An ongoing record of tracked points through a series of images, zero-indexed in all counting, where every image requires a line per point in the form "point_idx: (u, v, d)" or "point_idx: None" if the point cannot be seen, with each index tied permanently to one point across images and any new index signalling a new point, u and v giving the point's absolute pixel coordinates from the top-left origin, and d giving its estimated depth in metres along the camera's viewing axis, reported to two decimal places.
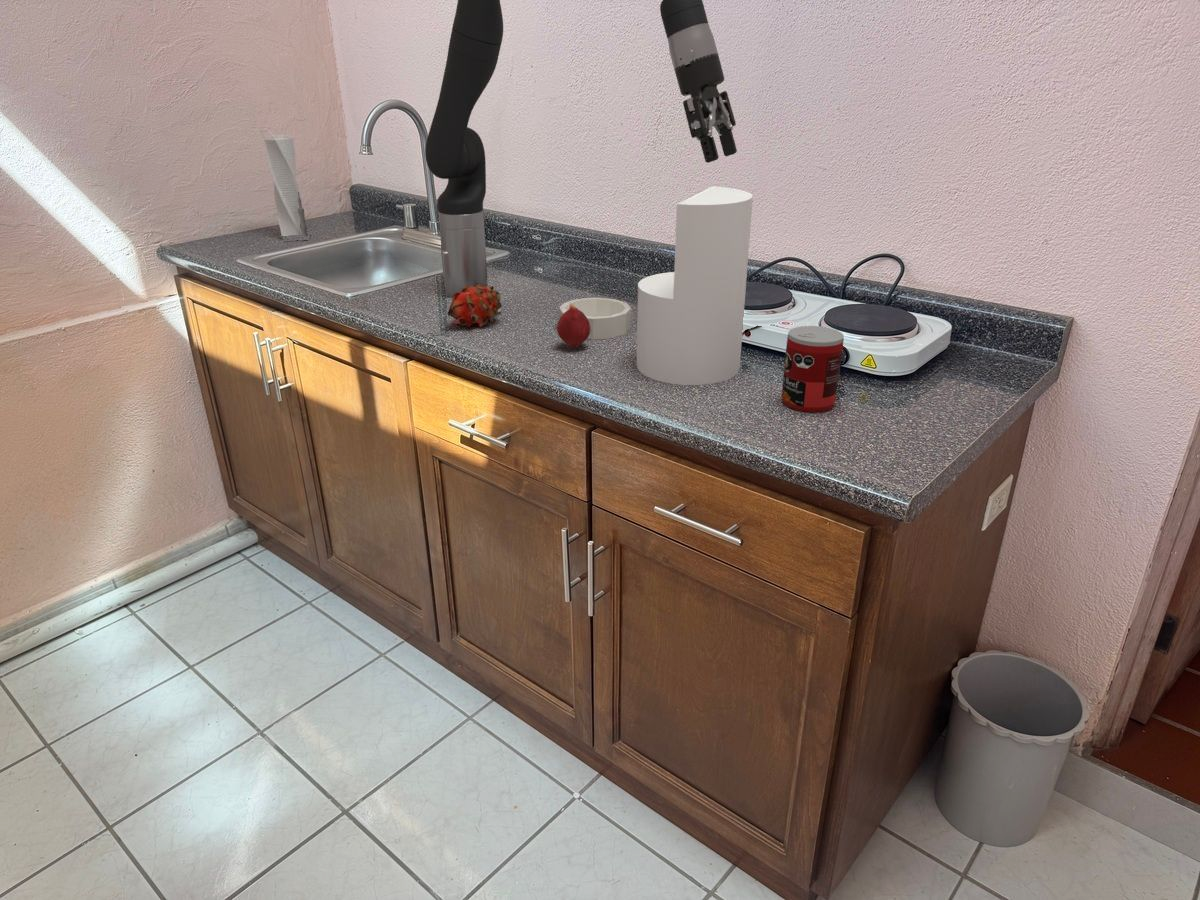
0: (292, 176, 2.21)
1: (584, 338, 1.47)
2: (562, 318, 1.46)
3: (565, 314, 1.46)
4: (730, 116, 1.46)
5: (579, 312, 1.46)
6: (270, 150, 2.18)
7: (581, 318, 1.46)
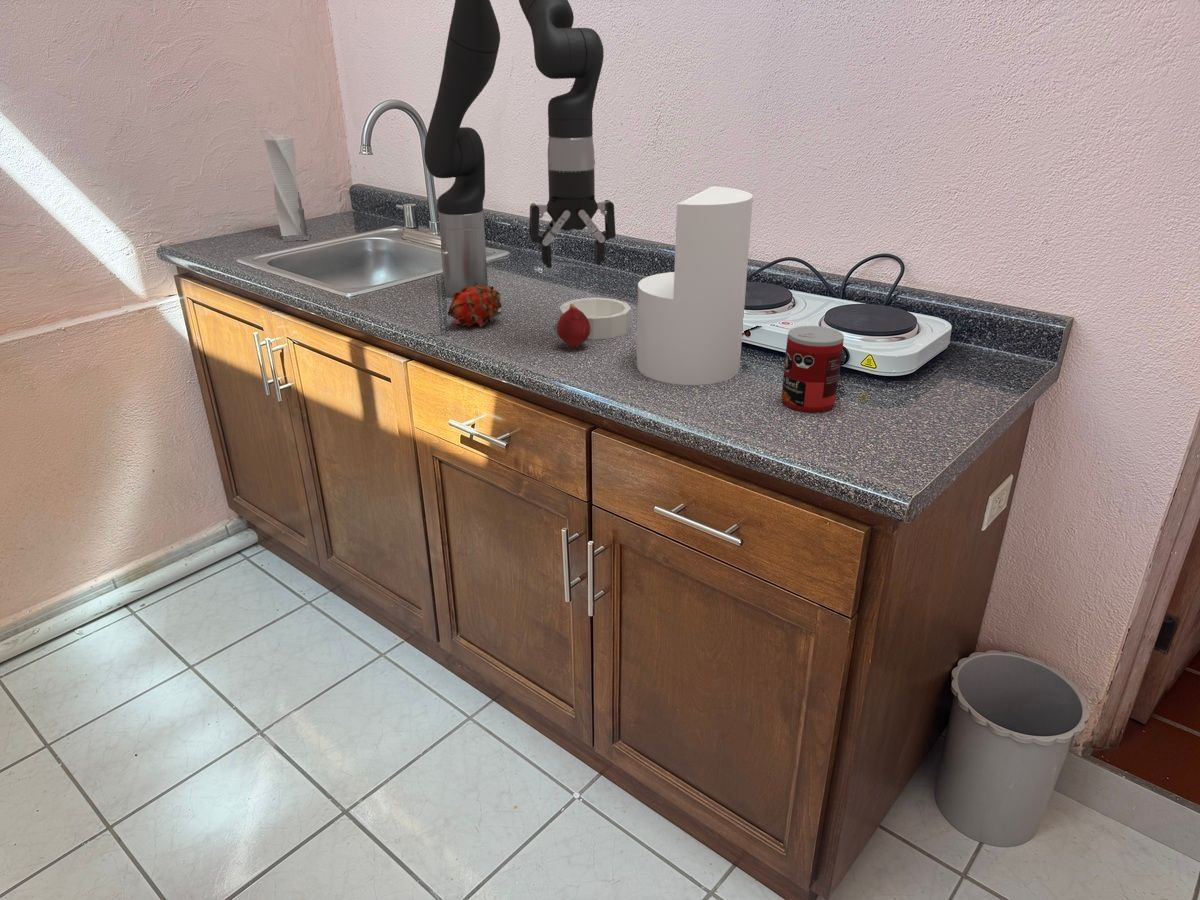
0: (292, 176, 2.21)
1: (584, 338, 1.47)
2: (562, 318, 1.46)
3: (565, 314, 1.46)
4: (608, 228, 1.41)
5: (579, 312, 1.46)
6: (270, 150, 2.18)
7: (581, 318, 1.46)
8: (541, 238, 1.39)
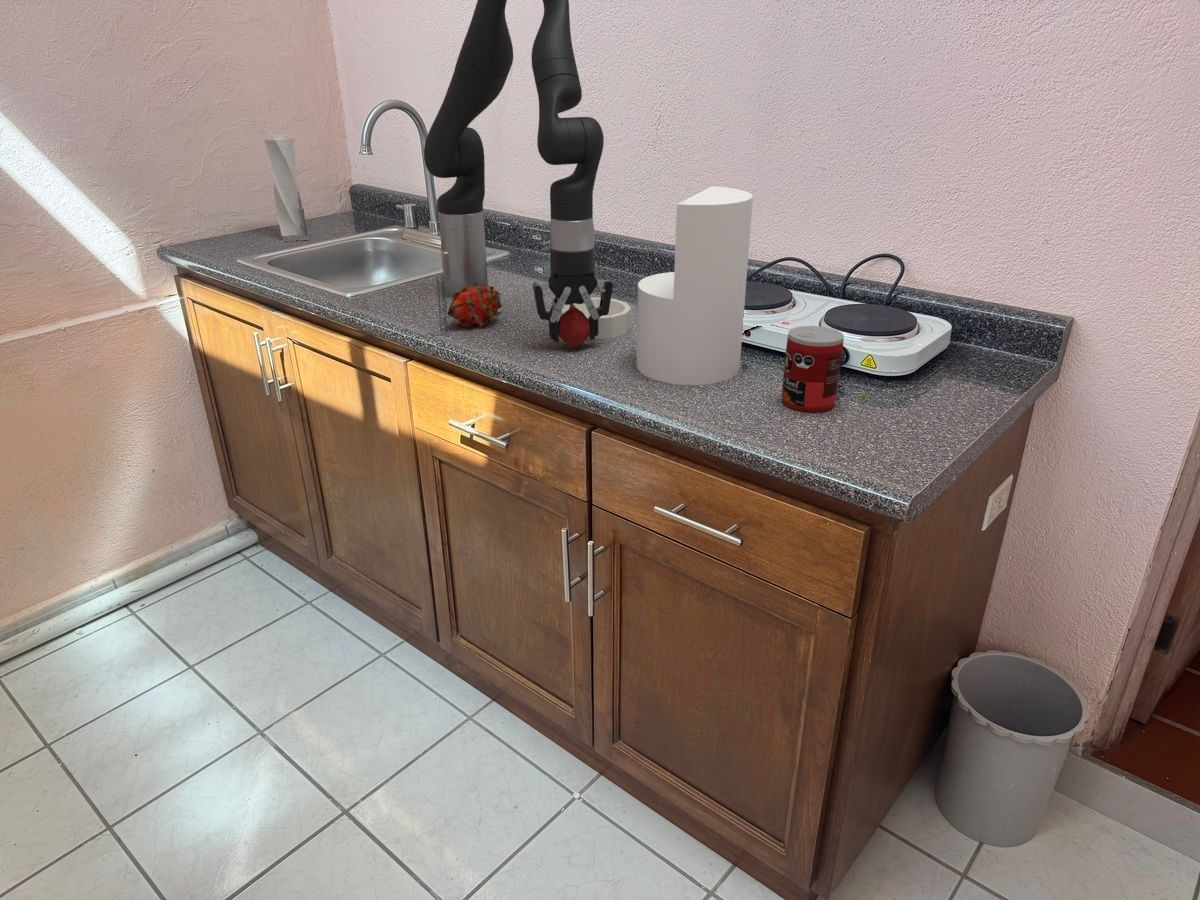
0: (292, 176, 2.21)
1: (584, 338, 1.47)
2: (562, 318, 1.46)
3: (565, 314, 1.46)
4: (603, 305, 1.46)
5: (579, 312, 1.46)
6: (270, 150, 2.18)
7: (581, 318, 1.46)
8: (549, 315, 1.45)
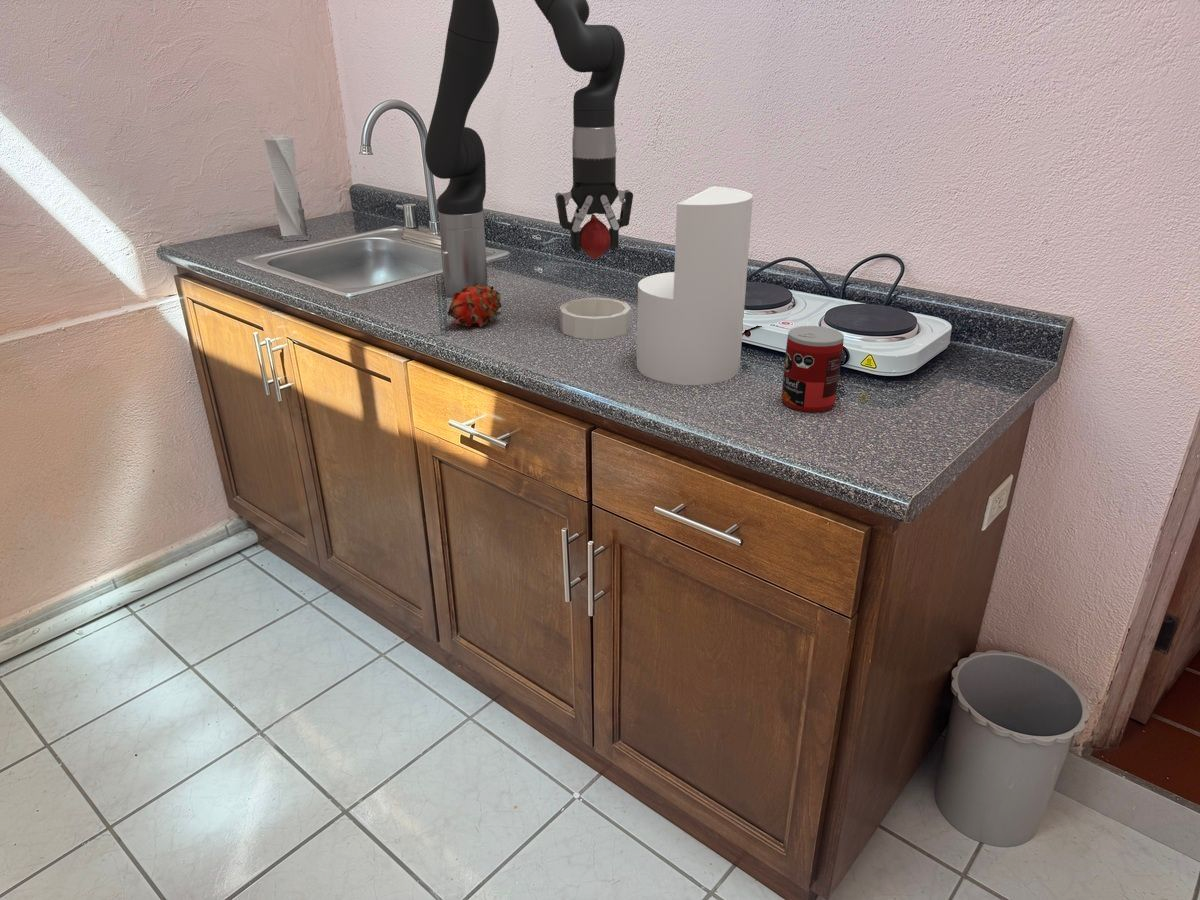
0: (292, 176, 2.21)
1: (605, 248, 1.51)
2: (584, 228, 1.50)
3: (586, 224, 1.50)
4: (623, 215, 1.50)
5: (600, 222, 1.50)
6: (270, 150, 2.18)
7: (602, 228, 1.50)
8: (571, 225, 1.50)
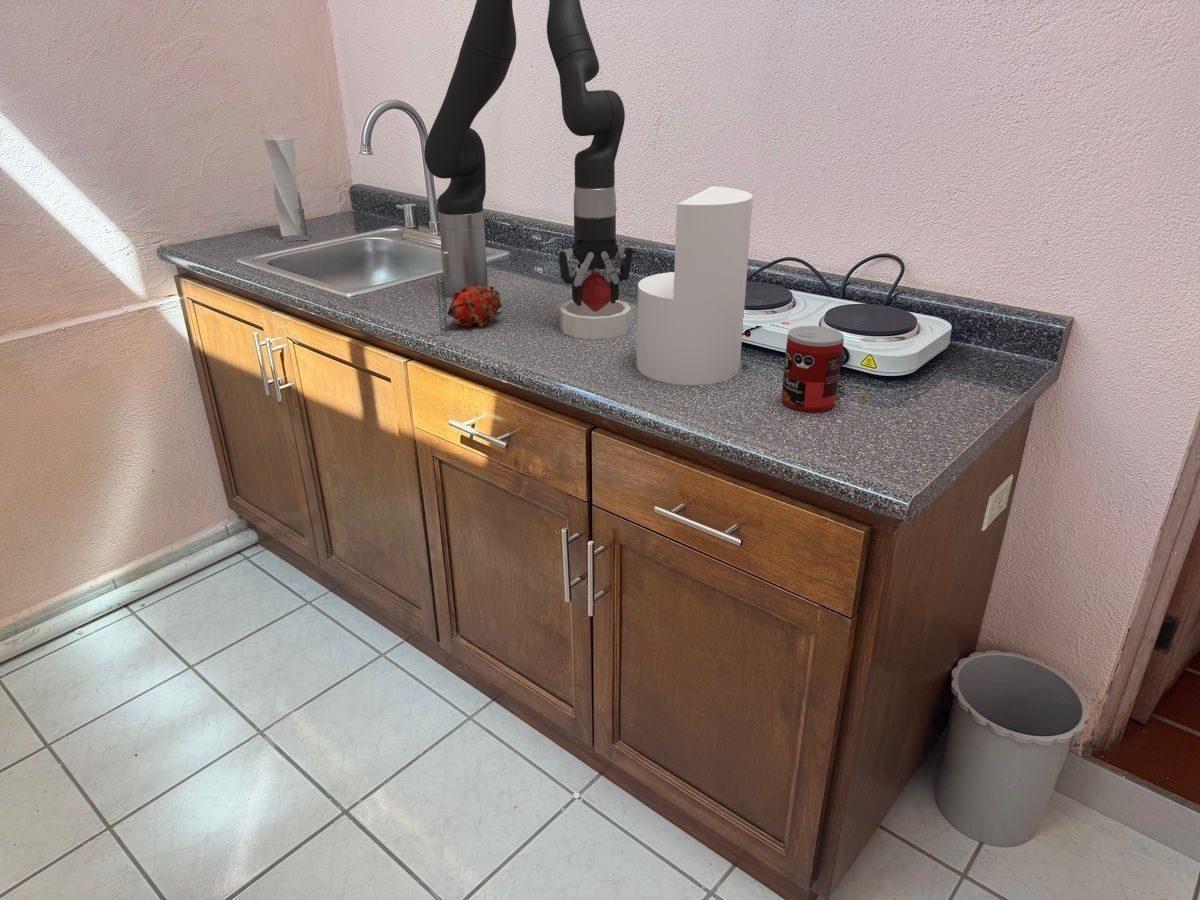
0: (292, 176, 2.21)
1: (605, 302, 1.56)
2: (585, 283, 1.55)
3: (588, 279, 1.55)
4: (623, 270, 1.55)
5: (601, 277, 1.55)
6: (270, 150, 2.18)
7: (603, 282, 1.54)
8: (572, 279, 1.54)
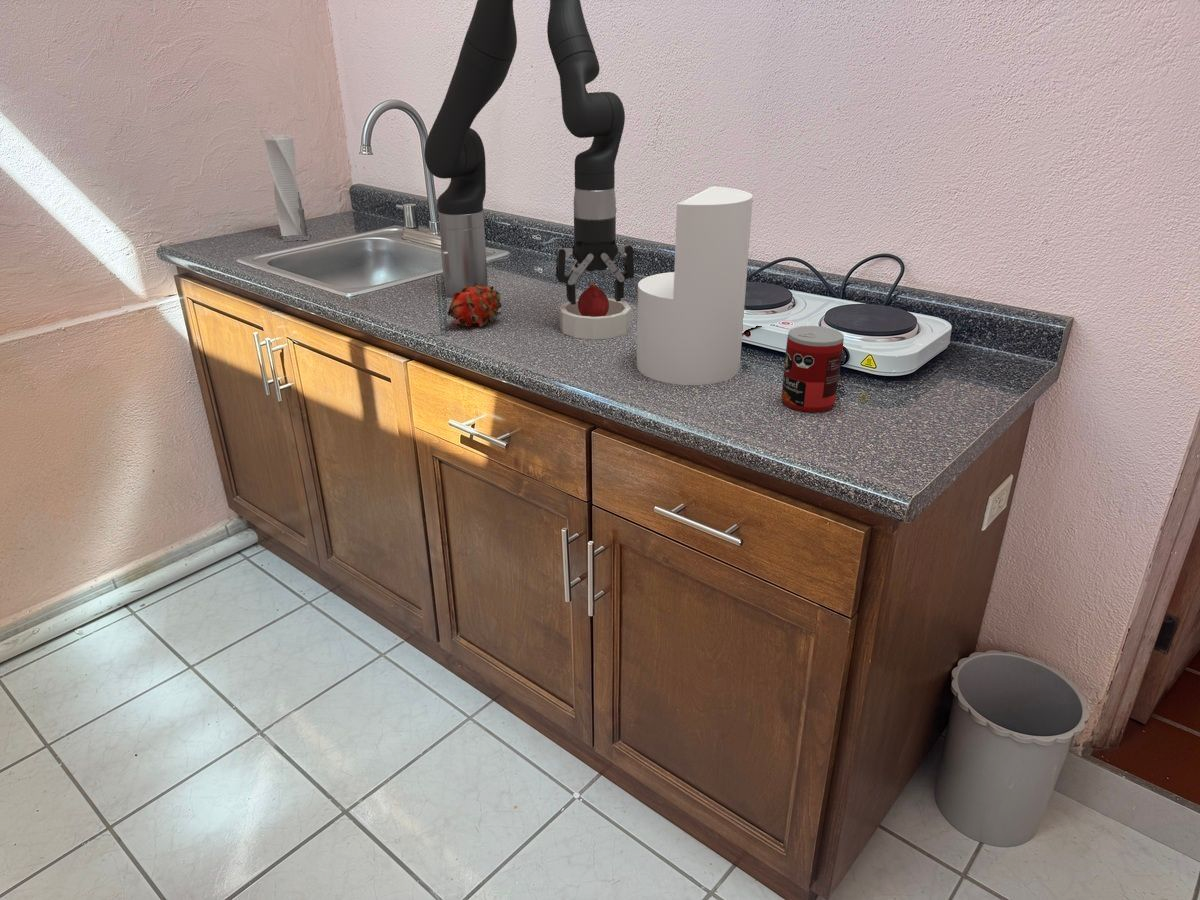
0: (292, 176, 2.21)
1: (603, 314, 1.57)
2: (583, 295, 1.56)
3: (586, 291, 1.56)
4: (627, 269, 1.55)
5: (599, 290, 1.56)
6: (270, 150, 2.18)
7: (601, 295, 1.55)
8: (567, 278, 1.54)
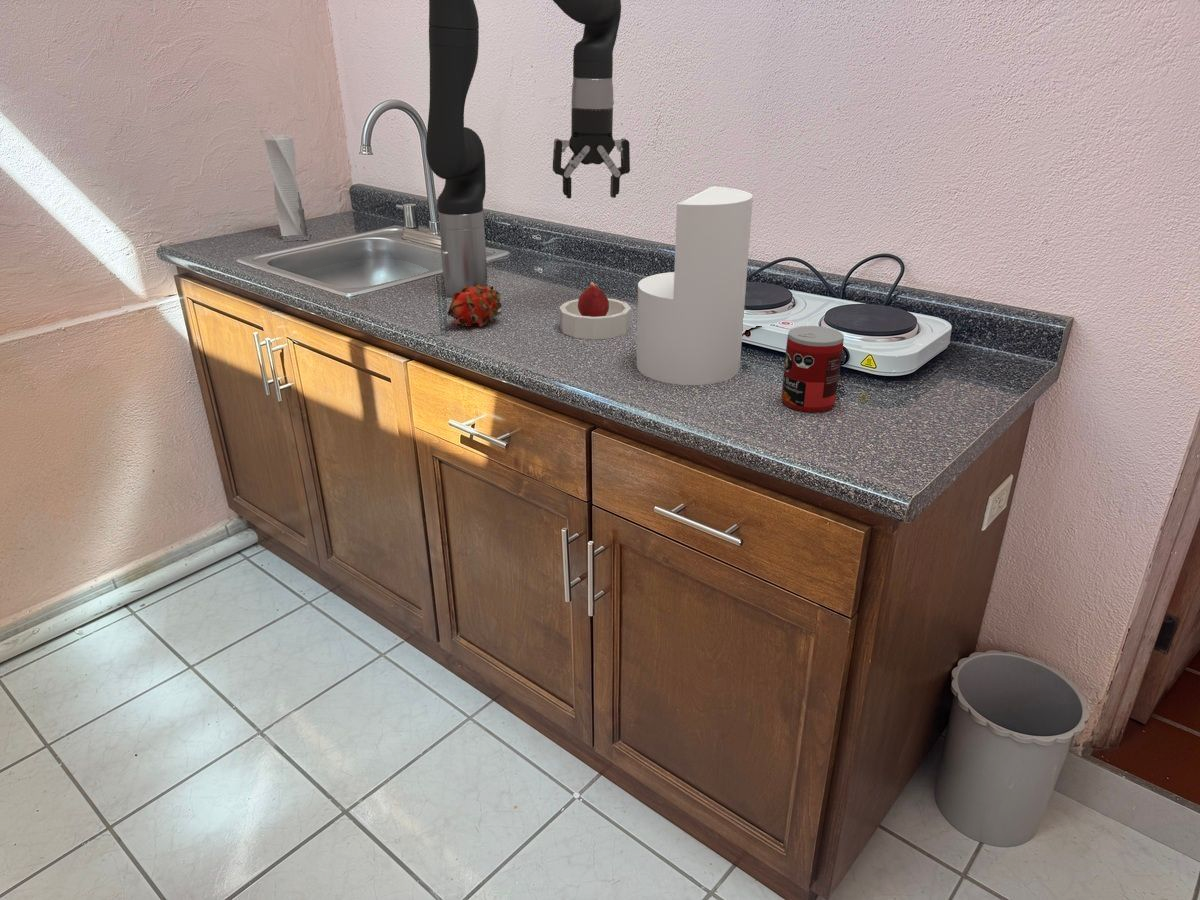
0: (292, 176, 2.21)
1: (603, 314, 1.57)
2: (583, 295, 1.56)
3: (585, 292, 1.56)
4: (623, 164, 1.56)
5: (599, 290, 1.56)
6: (270, 150, 2.18)
7: (600, 295, 1.55)
8: (563, 170, 1.55)
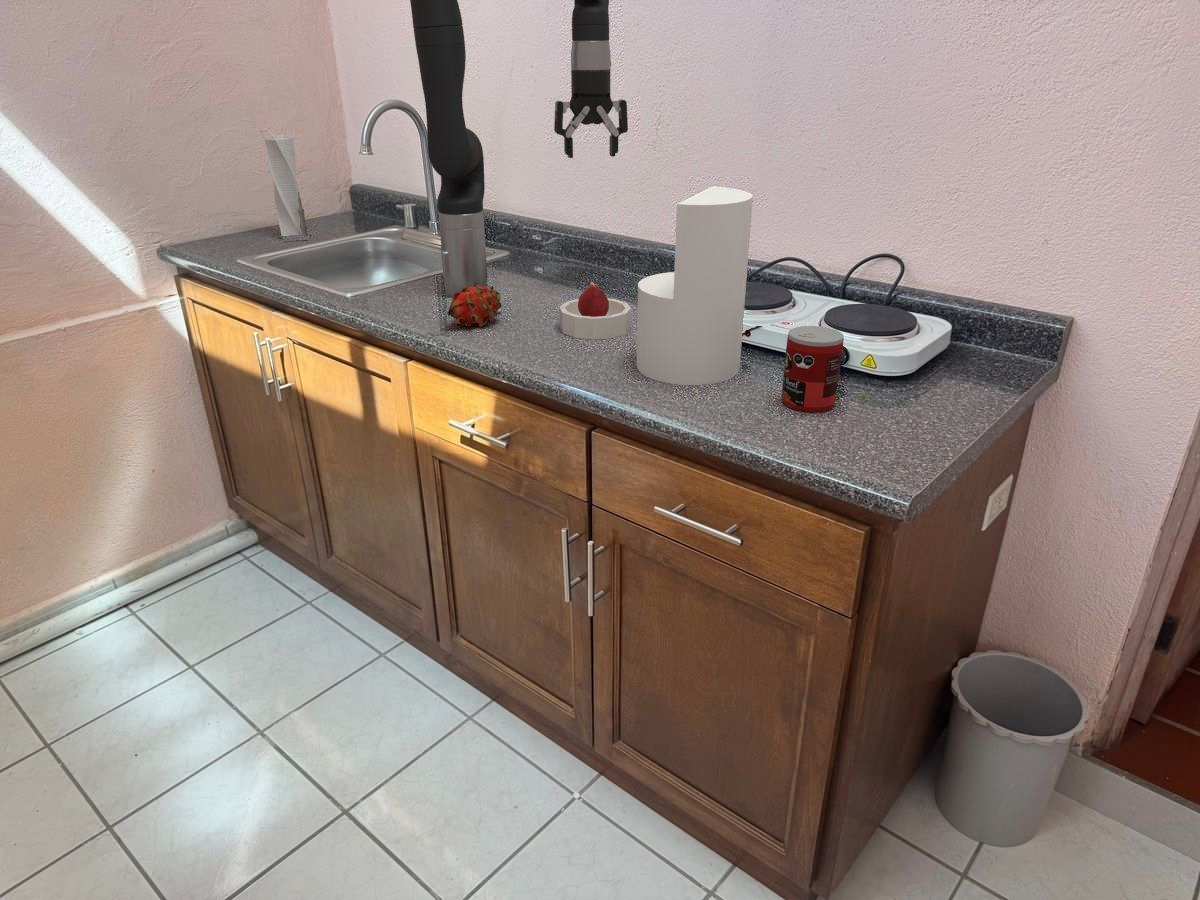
0: (292, 176, 2.21)
1: (603, 314, 1.57)
2: (583, 296, 1.56)
3: (585, 292, 1.56)
4: (621, 123, 1.65)
5: (599, 290, 1.56)
6: (270, 150, 2.18)
7: (600, 295, 1.55)
8: (564, 131, 1.63)
